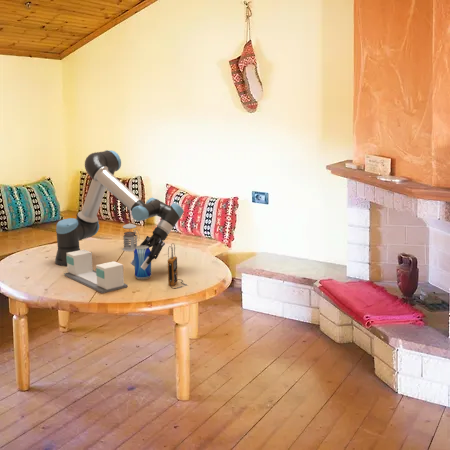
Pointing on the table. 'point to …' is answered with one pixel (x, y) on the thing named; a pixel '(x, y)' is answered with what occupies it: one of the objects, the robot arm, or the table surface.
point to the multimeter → (172, 270)
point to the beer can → (141, 262)
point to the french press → (130, 237)
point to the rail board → (94, 272)
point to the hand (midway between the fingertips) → (137, 266)
